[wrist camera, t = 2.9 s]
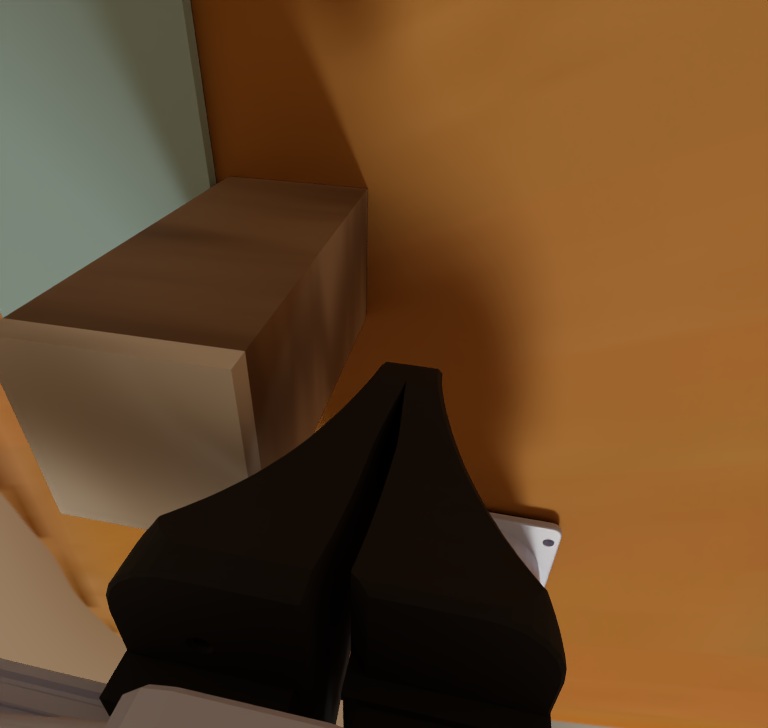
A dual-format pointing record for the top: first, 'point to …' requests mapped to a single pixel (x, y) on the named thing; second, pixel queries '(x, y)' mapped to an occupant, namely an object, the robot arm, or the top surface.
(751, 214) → the top surface
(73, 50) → the mat
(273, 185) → the walnut block
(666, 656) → the top surface
